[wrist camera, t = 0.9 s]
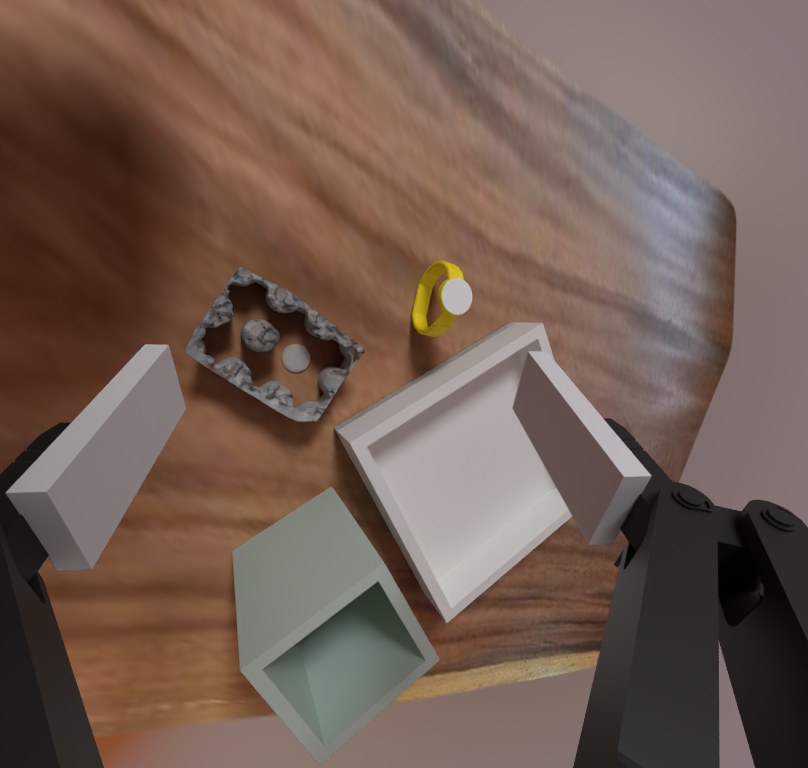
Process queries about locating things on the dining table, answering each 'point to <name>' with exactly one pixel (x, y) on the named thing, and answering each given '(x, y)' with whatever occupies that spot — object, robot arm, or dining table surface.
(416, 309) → the watch
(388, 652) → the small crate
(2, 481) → the robot arm
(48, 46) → the dining table surface
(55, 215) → the dining table surface
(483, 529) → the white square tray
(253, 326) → the egg carton
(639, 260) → the dining table surface
